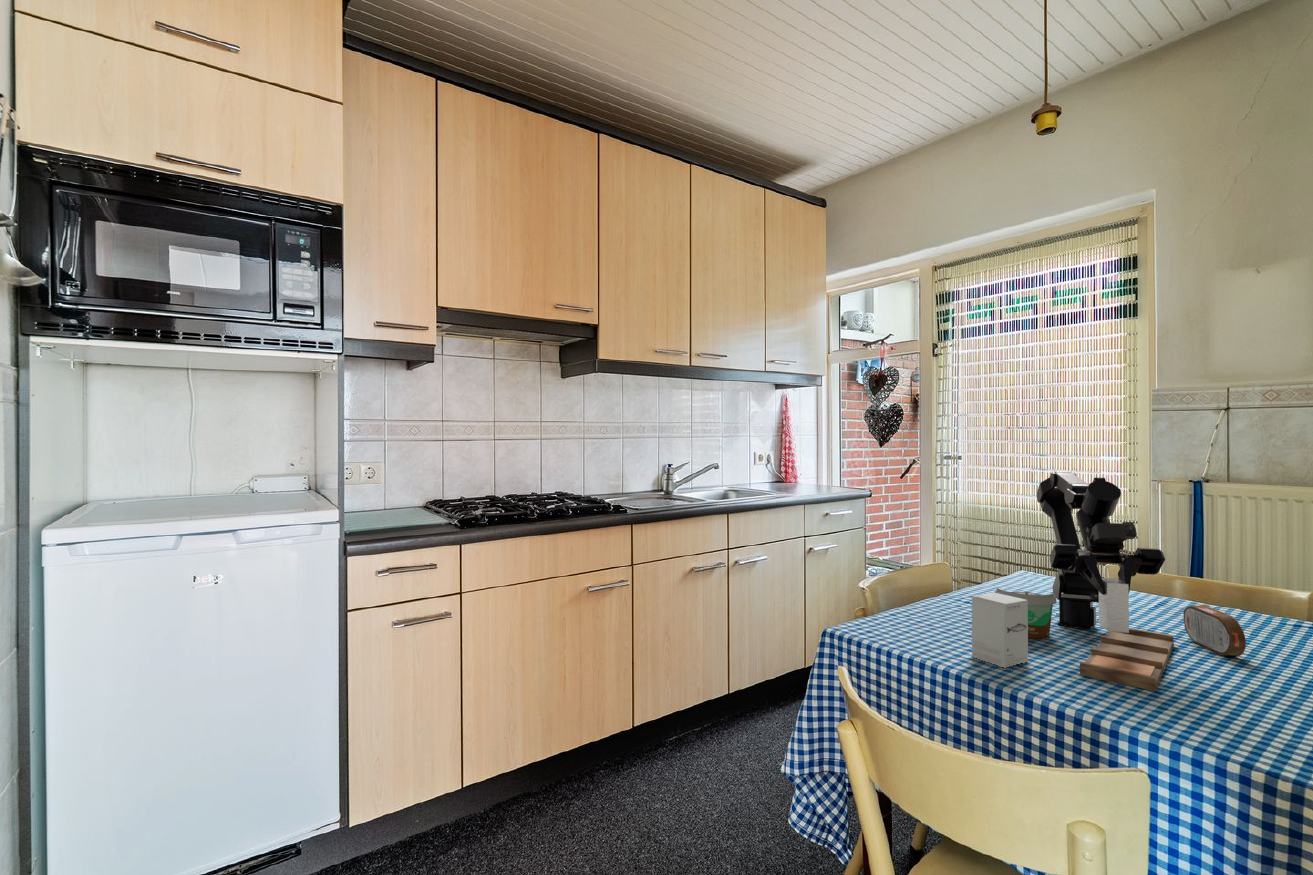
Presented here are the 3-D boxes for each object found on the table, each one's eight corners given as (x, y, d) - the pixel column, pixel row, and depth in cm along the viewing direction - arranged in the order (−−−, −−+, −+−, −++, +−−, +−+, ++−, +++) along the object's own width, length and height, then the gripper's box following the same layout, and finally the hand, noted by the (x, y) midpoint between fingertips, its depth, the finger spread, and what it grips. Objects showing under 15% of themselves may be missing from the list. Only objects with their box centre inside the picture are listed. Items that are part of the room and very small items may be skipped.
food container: (998, 637, 135) (998, 592, 135) (994, 629, 141) (994, 587, 141) (1063, 644, 131) (1062, 598, 131) (1056, 635, 136) (1055, 591, 136)
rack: (1079, 674, 113) (1079, 662, 113) (1110, 634, 137) (1110, 624, 137) (1155, 691, 105) (1155, 678, 105) (1173, 645, 130) (1173, 635, 130)
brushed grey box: (1098, 623, 124) (1098, 577, 124) (1119, 625, 123) (1119, 578, 123) (1107, 630, 119) (1107, 582, 119) (1128, 632, 118) (1128, 584, 118)
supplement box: (1005, 669, 116) (1004, 603, 116) (970, 657, 123) (970, 595, 123) (1029, 663, 119) (1029, 599, 119) (994, 652, 126) (994, 591, 126)
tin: (1248, 662, 120) (1247, 619, 120) (1229, 661, 120) (1228, 618, 121) (1196, 638, 134) (1196, 600, 135) (1180, 637, 135) (1179, 600, 135)
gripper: (1052, 506, 128) (1068, 568, 118) (1160, 509, 122) (1187, 575, 111) (1043, 537, 135) (1057, 598, 125) (1145, 541, 129) (1168, 606, 118)
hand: (1115, 594), depth 120 cm, fingers closed on brushed grey box, 3 cm apart
